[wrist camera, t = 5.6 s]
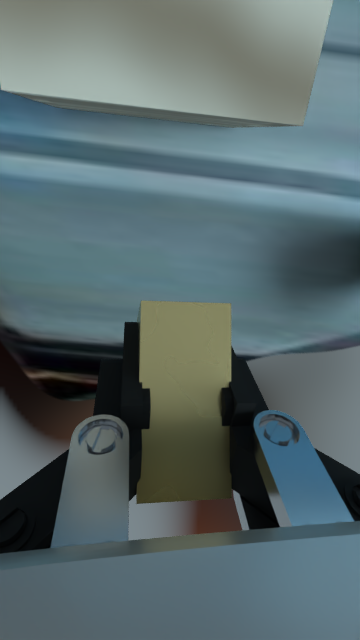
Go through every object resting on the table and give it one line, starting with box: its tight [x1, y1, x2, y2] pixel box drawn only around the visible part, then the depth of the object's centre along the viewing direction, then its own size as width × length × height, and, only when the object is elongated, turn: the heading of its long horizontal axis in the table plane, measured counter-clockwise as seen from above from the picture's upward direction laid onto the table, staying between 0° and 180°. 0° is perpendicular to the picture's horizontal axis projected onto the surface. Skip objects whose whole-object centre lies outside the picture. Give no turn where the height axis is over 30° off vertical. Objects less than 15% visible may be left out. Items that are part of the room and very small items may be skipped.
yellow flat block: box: [136, 301, 232, 504], centre depth 11 cm, size 5×2×6 cm
